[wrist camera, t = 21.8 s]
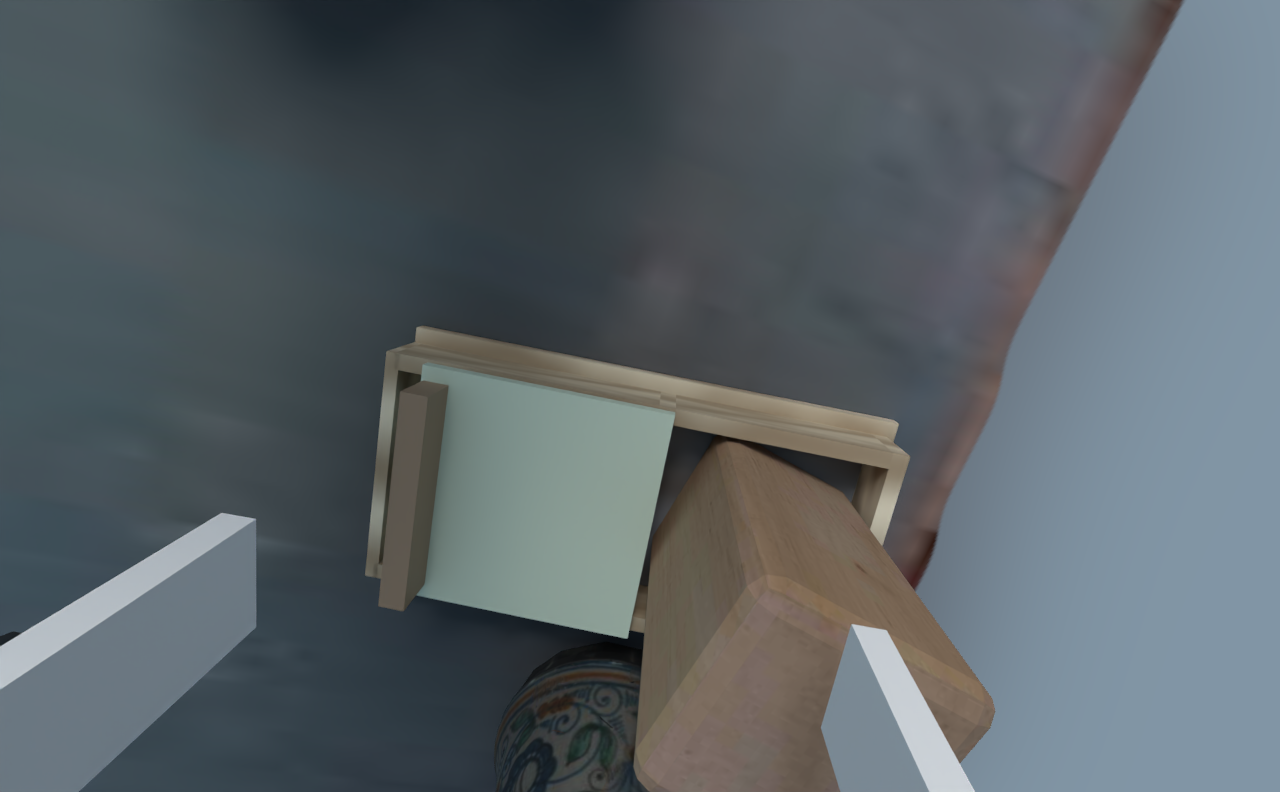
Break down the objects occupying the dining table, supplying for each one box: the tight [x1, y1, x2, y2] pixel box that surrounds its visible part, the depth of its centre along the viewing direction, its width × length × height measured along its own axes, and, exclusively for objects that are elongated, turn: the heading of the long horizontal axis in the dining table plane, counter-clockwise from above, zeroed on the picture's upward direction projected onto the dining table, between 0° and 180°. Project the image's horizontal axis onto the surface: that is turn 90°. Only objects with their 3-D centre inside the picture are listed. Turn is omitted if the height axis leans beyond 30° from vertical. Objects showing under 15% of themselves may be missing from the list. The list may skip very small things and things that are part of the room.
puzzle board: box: [365, 326, 910, 633], centre depth 39 cm, size 17×32×5 cm, turn 79°
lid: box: [378, 362, 675, 639], centre depth 35 cm, size 15×15×4 cm
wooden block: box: [633, 435, 995, 792], centre depth 31 cm, size 10×10×20 cm
